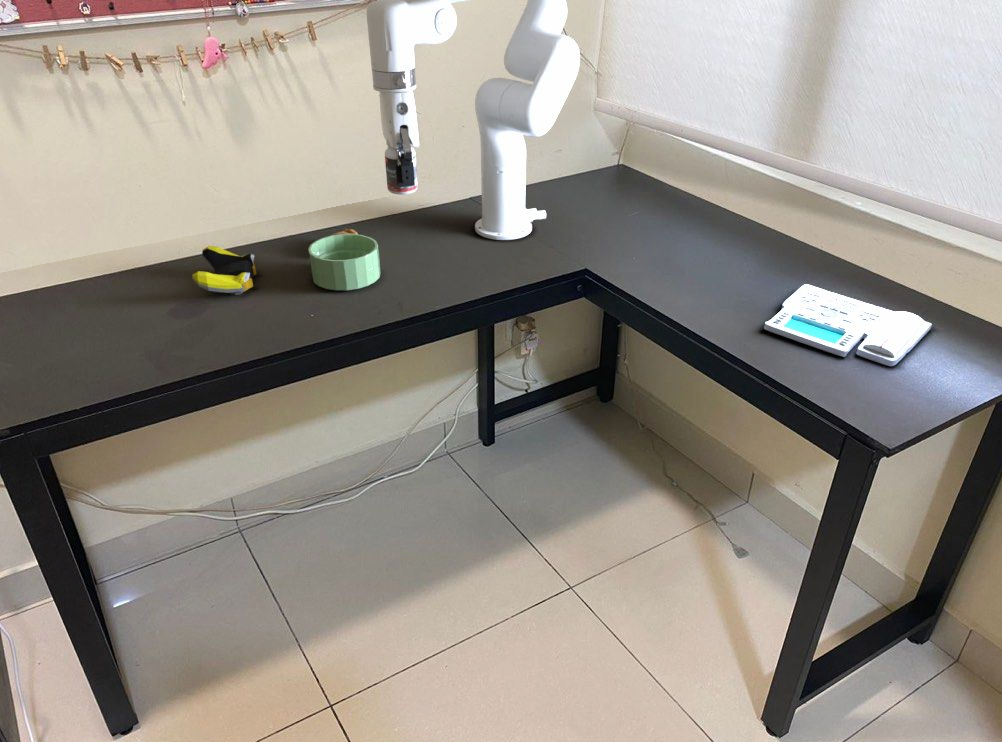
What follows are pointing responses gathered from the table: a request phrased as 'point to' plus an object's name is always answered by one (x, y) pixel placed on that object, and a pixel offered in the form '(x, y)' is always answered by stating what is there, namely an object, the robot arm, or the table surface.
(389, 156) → the pill bottle
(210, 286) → the gaming controller
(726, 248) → the table surface
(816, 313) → the office telephone
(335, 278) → the green bowl
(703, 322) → the table surface
